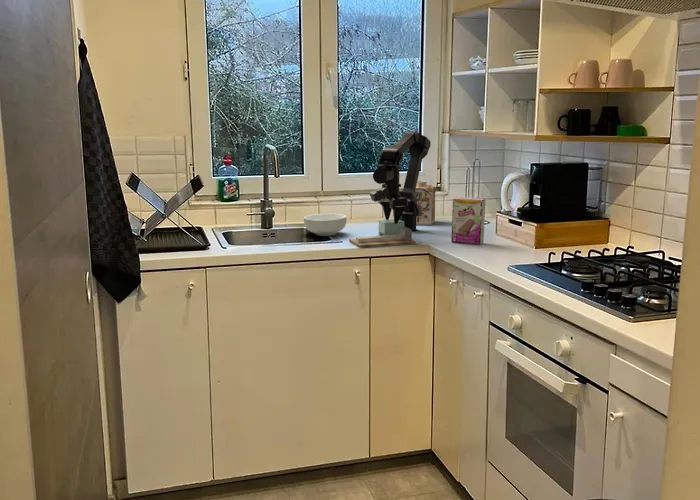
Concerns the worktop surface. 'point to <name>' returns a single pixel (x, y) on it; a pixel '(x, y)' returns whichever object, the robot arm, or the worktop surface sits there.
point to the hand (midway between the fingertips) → (391, 221)
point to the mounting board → (382, 243)
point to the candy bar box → (468, 220)
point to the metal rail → (379, 238)
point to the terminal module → (389, 227)
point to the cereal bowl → (325, 223)
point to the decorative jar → (425, 203)
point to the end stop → (405, 233)
